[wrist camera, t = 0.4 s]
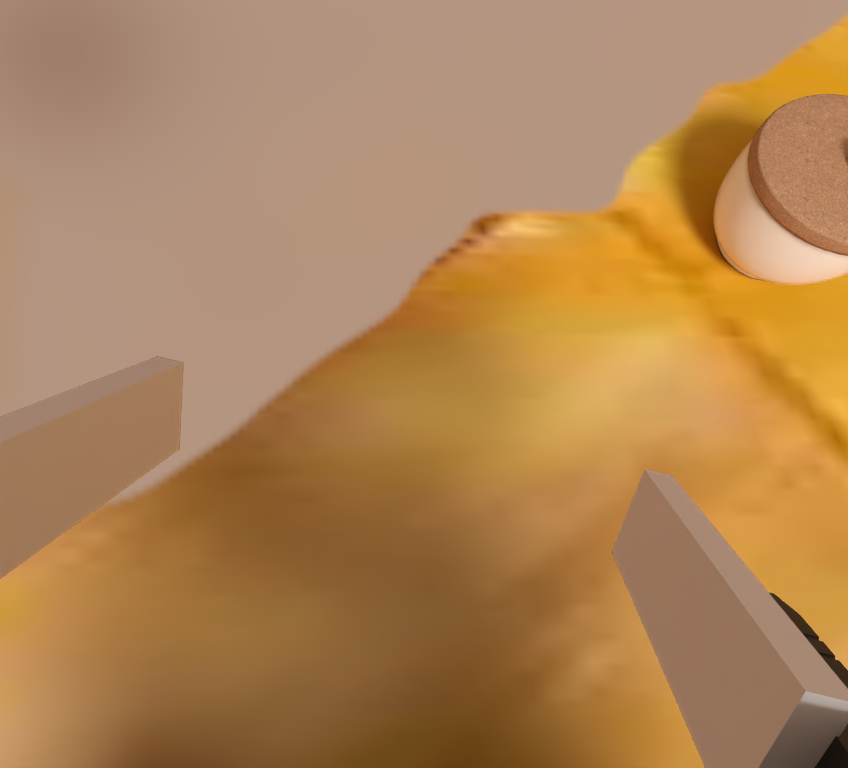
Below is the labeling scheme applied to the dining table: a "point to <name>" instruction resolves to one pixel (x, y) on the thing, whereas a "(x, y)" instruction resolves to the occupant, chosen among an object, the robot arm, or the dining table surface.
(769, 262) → the lidded jar
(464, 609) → the dining table surface
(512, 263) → the dining table surface
